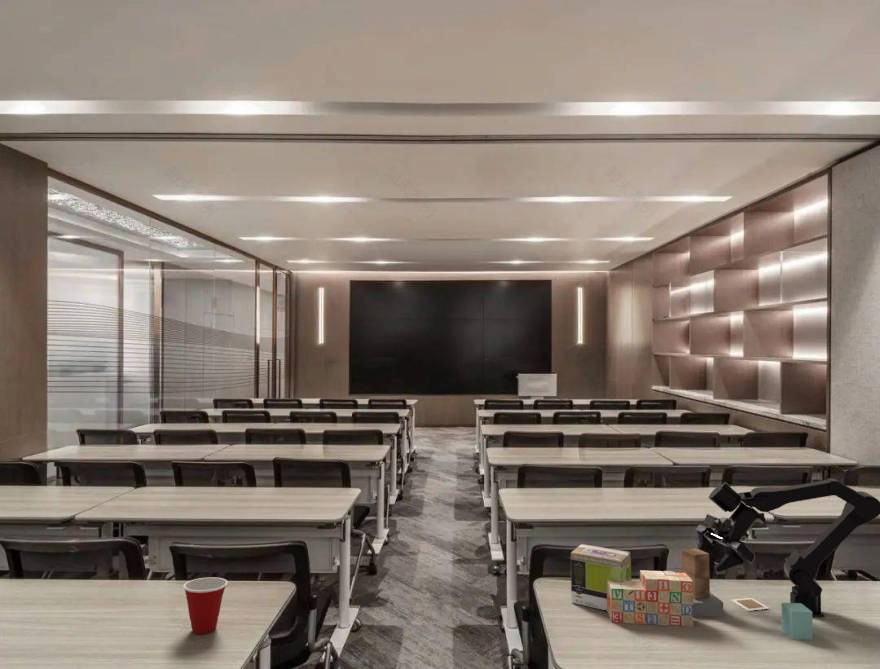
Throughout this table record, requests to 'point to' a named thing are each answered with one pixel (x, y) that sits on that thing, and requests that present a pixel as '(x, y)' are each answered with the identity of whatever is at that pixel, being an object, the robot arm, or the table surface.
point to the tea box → (596, 573)
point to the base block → (708, 606)
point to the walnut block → (697, 571)
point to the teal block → (797, 621)
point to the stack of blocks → (652, 599)
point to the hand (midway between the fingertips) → (706, 565)
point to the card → (750, 604)
